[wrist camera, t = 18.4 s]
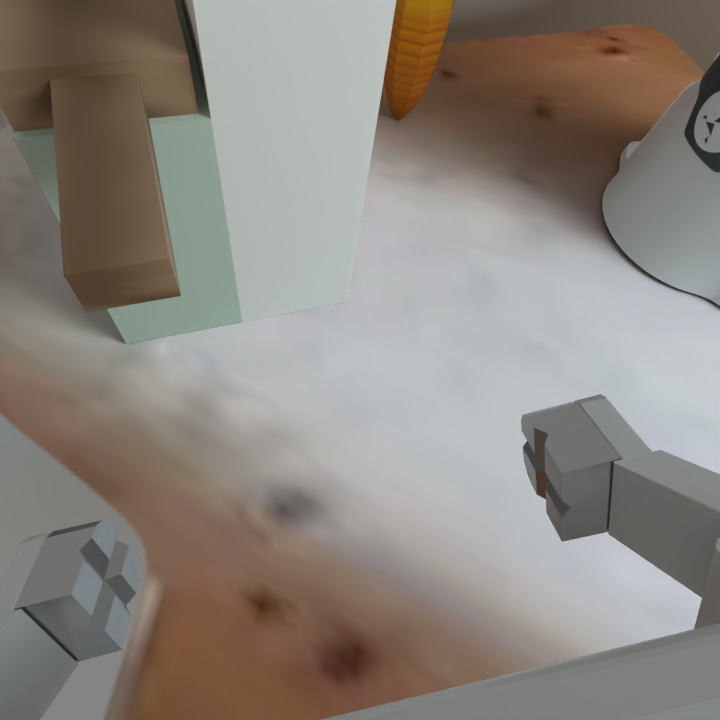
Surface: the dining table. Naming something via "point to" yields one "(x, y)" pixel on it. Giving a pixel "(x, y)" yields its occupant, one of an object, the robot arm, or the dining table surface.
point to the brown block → (101, 132)
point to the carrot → (414, 50)
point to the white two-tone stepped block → (259, 160)
